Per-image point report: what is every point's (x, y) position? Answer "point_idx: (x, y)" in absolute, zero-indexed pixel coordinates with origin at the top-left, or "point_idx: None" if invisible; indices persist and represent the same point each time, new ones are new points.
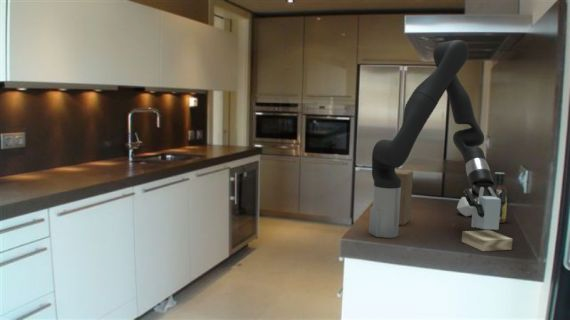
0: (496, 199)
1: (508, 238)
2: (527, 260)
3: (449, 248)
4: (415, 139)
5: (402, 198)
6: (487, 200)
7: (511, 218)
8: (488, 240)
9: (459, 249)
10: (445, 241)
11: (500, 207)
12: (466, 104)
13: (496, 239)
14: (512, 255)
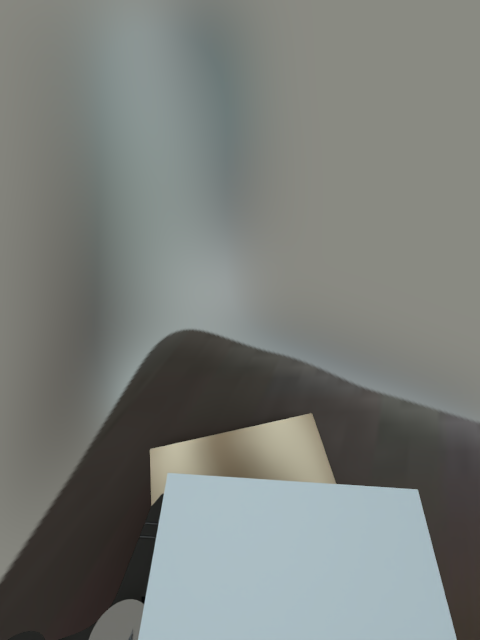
0: (239, 480)
1: (167, 457)
2: (191, 329)
3: (434, 463)
4: None
5: None
6: (375, 489)
7: None
8: (287, 419)
9: (392, 448)
10: (456, 616)
11: (130, 579)
12: None
13: (241, 434)
14: (209, 375)
